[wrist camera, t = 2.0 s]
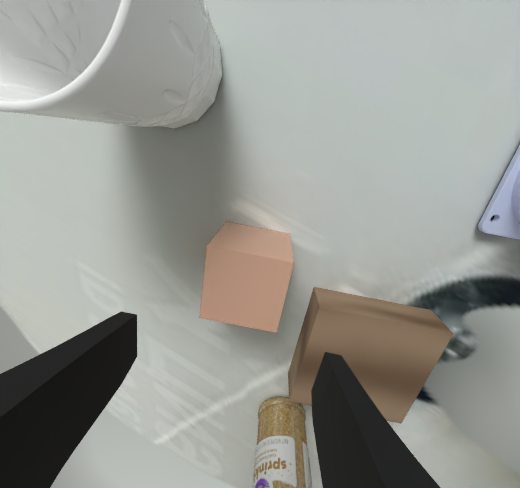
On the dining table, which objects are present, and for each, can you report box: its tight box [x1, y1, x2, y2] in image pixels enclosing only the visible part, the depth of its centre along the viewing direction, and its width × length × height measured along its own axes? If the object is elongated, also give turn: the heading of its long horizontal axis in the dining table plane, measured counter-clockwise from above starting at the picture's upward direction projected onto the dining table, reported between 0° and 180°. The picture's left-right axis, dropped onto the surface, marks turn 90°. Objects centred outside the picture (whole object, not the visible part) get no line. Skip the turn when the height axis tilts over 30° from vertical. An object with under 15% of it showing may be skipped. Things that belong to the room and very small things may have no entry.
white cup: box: [0, 0, 222, 128], centre depth 9 cm, size 8×8×10 cm
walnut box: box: [288, 287, 453, 423], centre depth 19 cm, size 9×9×3 cm
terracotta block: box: [199, 222, 294, 333], centre depth 16 cm, size 5×5×5 cm
